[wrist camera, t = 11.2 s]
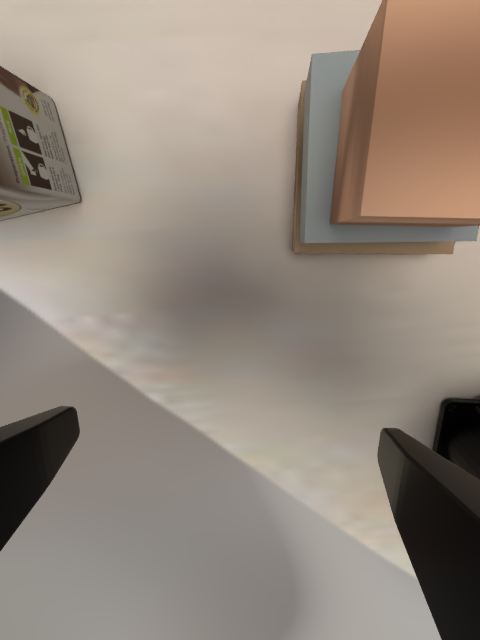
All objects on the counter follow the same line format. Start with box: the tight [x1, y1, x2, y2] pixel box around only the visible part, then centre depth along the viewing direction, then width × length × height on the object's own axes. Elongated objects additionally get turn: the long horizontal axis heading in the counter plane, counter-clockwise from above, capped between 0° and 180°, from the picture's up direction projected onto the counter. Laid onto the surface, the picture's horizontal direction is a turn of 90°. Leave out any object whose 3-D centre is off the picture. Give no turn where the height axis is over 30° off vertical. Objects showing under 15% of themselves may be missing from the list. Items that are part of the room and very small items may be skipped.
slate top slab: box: [299, 50, 479, 243], centre depth 13 cm, size 7×7×3 cm
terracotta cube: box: [330, 0, 480, 227], centre depth 10 cm, size 5×5×5 cm
